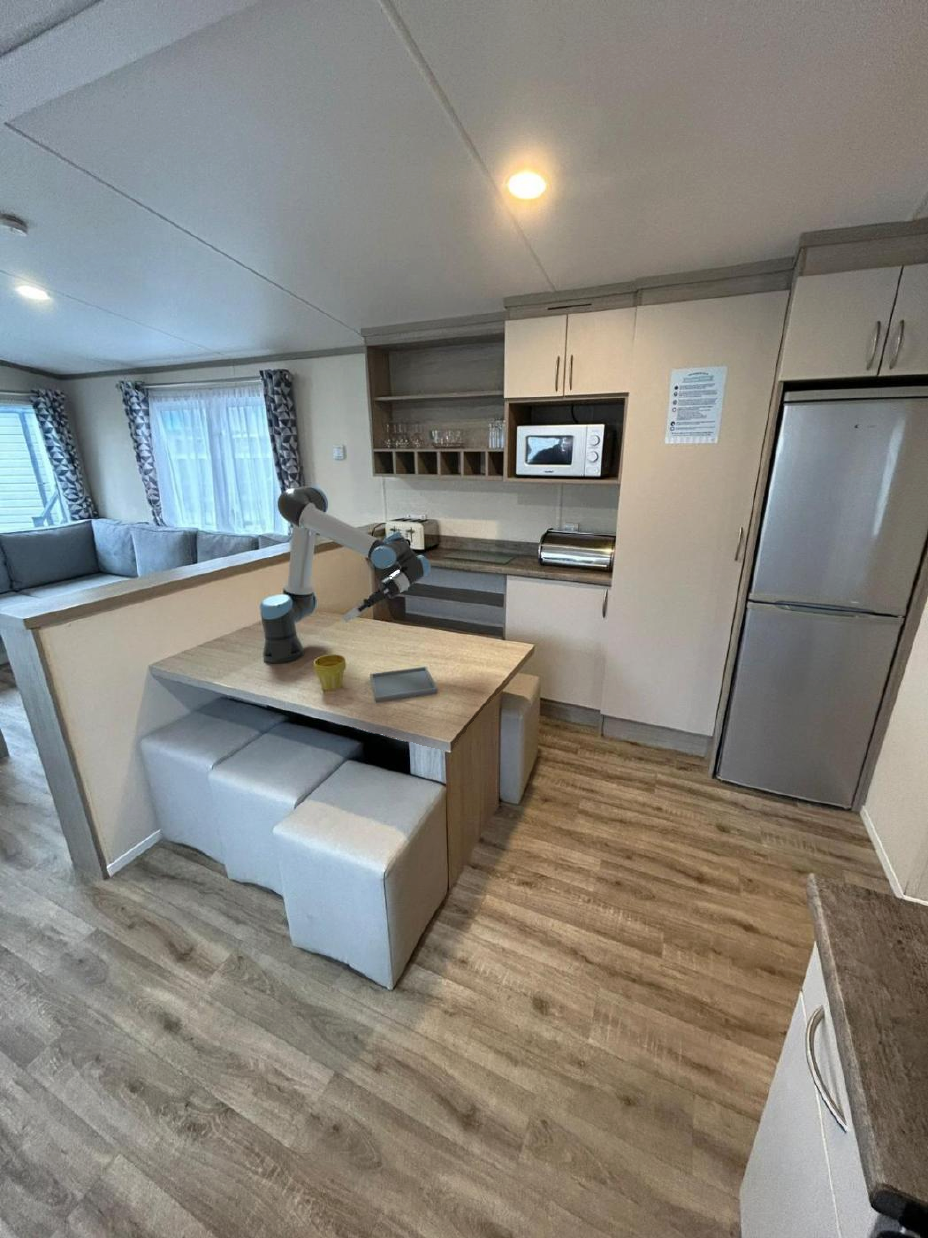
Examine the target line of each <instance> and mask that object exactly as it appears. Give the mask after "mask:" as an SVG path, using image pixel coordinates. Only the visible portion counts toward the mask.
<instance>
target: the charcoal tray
mask: <svg viewBox="0 0 928 1238" xmlns="http://www.w3.org/2000/svg"><path fill="white" fill-rule="evenodd" d="M369 676H370V683H371V687H372V691H373V697H374V702H375V704H376V703H383V702H390V701H396V700H397V701H398V700H404V699H410V698H417V697H423V696H430V695H431V696H432V695H437V694H438V688H437V686H436V684H435V681H434V679H433V678H432V676H431V673H430V671H429V669H428V667H427V666H420V667H413V668H411V667H410V668H405V669H397V670H391V671H390V670H389V671H384V672H383V671H381V672H374V673H370V674H369Z"/></svg>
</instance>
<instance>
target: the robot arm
mask: <svg viewBox="0 0 928 1238" xmlns="http://www.w3.org/2000/svg"><path fill="white" fill-rule="evenodd" d="M276 506H277V510H278V512H279V515H281V517H282V518H283V519H284V520H286V521H287V522H288V523H290V524H291V525H292V531H291V532H292V535H291V544H290V558H289V565H288V566H289V567H288V578H287V583H285V584H284V586H283V591H282V594H276V595H273V596H268V597H266V598H264V599H262V601H261V603H260V605H259V610H260V612H259V613H260V616H261V622H262V629H263V634H264V639H265V640H264V645H263V649H262V650H263V651H262V657H263V661H264V662H266V663H269V664H270V663H271V664H285V663H290V662H293V661H295V660H298V659H300V658H302V657H303V656H304V655H305V650H304V646H303V644H302V643H301V639H300V638H299V637H298V634H297V627H296V624H298V623H299V622H300V621H302V620H305V618H308V617H309V616H311V615H312V614H313V613H314V611H316V609H317V606H318V599H317V596H316V595H315V591H314V587H312V585H311V583H312V575H313V574H312V572H313V566H314V564H313V563H314V553H315V545H316V544H315V543H316V536H317V535H316V534H318V535H321V536H323V537H324V538H327V539H329V540H331V541H333V542H334V543H336V544H339V545H341V546H343V547H345V548H347V549H349V550H351V551H353V552H355V553H357V554H359V555H361V556H363V557H365V558H367V559H369V560H371V563H372V565H374V566H375V567H376V568H377V569H381V570H383V569H388V568H391V567H392V566H394V565H395V564H397V565H398V567H399V569H396V570H395V571H394V572H393V573H391V574H390V575H388V576H387V577H385V578H384V579H383V580H381V581H380V582H379V583H380V585H379V586H380V588H381V589H380V588H378V589H377V590H375V591H374V592H373V593H372V594H371V595H369V597H368V598H364V599H363V600H362V601H363V602H360V603H359V604H358V605H357V606H355V607H353V608H352V609H350V610H349V611H347V612H346V613H345V614H343V615H342V616H341V619H342V620H343V621H344V622H345V623H346V624H347V623H348V622H350V621H351V620H354V619H356V618H357V617H359V616H360V615H361V614H363V613H365V611H367V610H369V608H371V607H373V606H374V605H376V604H377V603H380V602H381V601H383V600H385V599H386V597H387V598H389V599H394V598H396V597H397V596H398V595H400V593H403V592H404V591H406V592H407V591H408V590H409V589H408V588H409V587H411V586H413V585H414V584H416V583H417V582H418V581H420V580H421V579H423V578H424V577H426V576H427V574H429V573H430V572H431V570H432V569H431V568H432V566H431V563H430V561H429V560H428V559H427V558H426V557H425V556H424V555H422V554H420V555H417V554H416V553H415V552H414V550H413V549H412V548H411V546H410V545H409V542H408V541H407V540H406V538H405V537H404V536H403V534H402V533H401V532H400V531H395V532H393V533H391V534H390V535H388V536H387V537H386V538H384V539H383V540H381V539H378V538H376V537H375V536H372V535H370V534H368V533H367V532H365V531H364V530H363V531H362V530H360V529H358V528H356V527H354V526H353V525H350V523H349V524H348V523H347V522H344V521H342V520H340V519H338V518H336V517H334V516H333V515H330V514H329V513H327V511H328V508H329V500H328V497H327V495H326V494H325V493H324V492H323V491H322V490H321V489H320V488H319V487H317V486H311V485H310V486H309V485H304V486H299V487H291V488H288V489H285V490H284V491H283V492H281V493H280V495H279V497H278V499H277V504H276Z"/></svg>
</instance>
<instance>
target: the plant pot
mask: <svg viewBox="0 0 928 1238" xmlns="http://www.w3.org/2000/svg"><path fill="white" fill-rule="evenodd" d="M346 666H347V664H346V657H344V656H343V655H341V654H325V655H322V656H319V657H317V658H315V659H314V661H313V670H314V672H315V674H316V675H317V677H318V680H319V682H320V686H321V689H322V690H324V691H327V692H328V691H329V692H330V691H331V692H332V691H337V690H339V689H340V688H341V687H343V681H344V680H343V679H344V674H345V673H344V672H345V670H346V668H347V667H346Z"/></svg>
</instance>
